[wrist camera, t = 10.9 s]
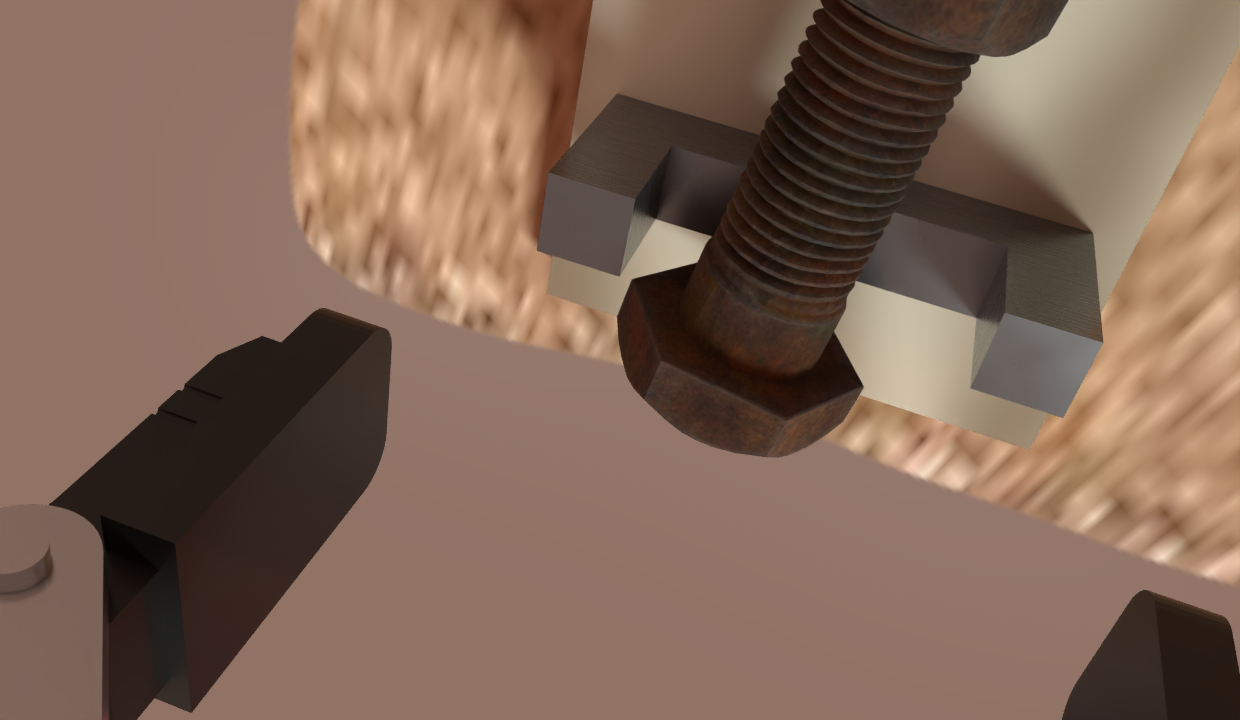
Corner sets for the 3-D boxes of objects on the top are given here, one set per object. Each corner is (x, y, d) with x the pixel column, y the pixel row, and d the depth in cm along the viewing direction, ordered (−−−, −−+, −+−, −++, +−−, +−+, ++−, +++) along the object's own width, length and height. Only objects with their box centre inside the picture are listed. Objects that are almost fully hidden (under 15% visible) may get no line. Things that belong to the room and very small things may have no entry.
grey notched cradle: (1292, -174, 21) (1351, -124, 17) (1059, 302, 28) (1062, 418, 24) (691, -316, 23) (618, -300, 19) (604, 163, 29) (536, 250, 25)
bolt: (1102, -309, 21) (779, 318, 29) (871, -406, 19) (599, 292, 28) (1306, -224, 17) (858, 479, 25) (1033, -340, 15) (652, 461, 23)
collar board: (1470, -449, 20) (1498, -452, 18) (1029, 418, 31) (1029, 449, 30) (709, -599, 22) (690, -611, 20) (563, 269, 33) (546, 293, 32)
